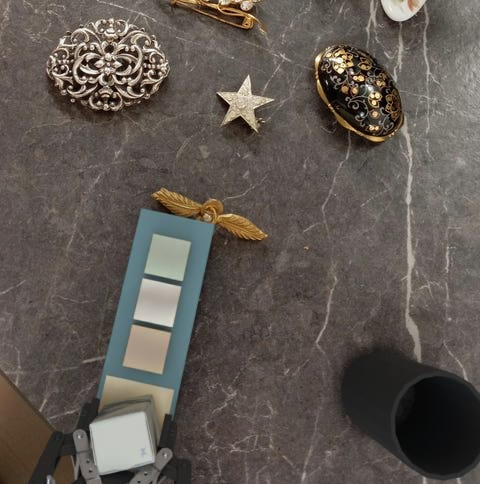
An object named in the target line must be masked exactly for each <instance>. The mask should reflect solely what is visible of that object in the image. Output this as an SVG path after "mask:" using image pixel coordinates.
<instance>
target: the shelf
mask: <svg viewBox="0 0 480 484" xmlns="http://www.w3.org/2000/svg"><path fill="white" fill-rule="evenodd" d="M215 225H216V224H215V223H212V222H207V221H202V220H198V219H194V218H189V217H184V216H180V215H175V214H169V213H165V212H161V211H157V210H152V209H148V208H144V207H141V208H140V212H139V215H138V220H137V224H136V229H135V232H134V237H133V241H132V246H131V250H130V255H129V258H128V262H127V265H126V266H127V267H126V270H125V275H124V278H123V283H122V287H121V291H120V295H119V300H118V303H117V309H116V313H115V317H114V321H113V326H112V329H111V333H110V338H109V343H108V346H107V351H106V355H105V359H104V362H103V363H104V364H103V367H102V372H101V377H100V379H99V384H98V388H97V393H96V397H95V398H98V399H100V401H101V397H102V392H103V388H104V384H105V380H106V375H109V376H114V377H118V378H123V379H127V380H132V381H137V382H141V383H146V384H150V385H155V386H160V387H164V388H169V389H173V390H174V394H173V398H172V403H171V408H170V412H169V414H171V415H172V420H171V421H174V417H175V413H176V408H177V403H178V398H179V393H180V389H181V384H182V379H183V375H184V370H185V367H186V366H185V365H186V362H187V356H188V351H189V347H190V342H191V337H192V334H193V333H192V332H193V328H194V325H195V319H196V315H197V309H198V306H199V305H198V304H199V299H200V296H201V295H200V294H201V291H202V286H203V282H204V277H205V272H206V269H207V264H208V259H209V254H210V249H211V244H212V239H213V235H214V230H215V227H216V226H215ZM153 233H154V234H159V235H164V236H168V237H173V238H177V239H182V240H186V241H191V247H190V252H189V257H188V261H187V266H186V270H185V275H184V279H183V282H181V281H177V280H172V279H167V278H163V277H158V276H154V275H149V274H145V273H144V270H145V265H146V261H147V257H148V253H149V248H150V244H151V240H152V235H153ZM143 278H145V279H149V280H154V281H158V282H163V283H168V284H172V285H177V286H181V287H182V288H181V293H180V297H179V302H178V306H177V311H176V316H175V320H174V325H173V327H168V326H163V325H159V324H154V323H150V322H145V321H140V320H136V319H133V317H134V313H135V309H136V304H137V300H138V296H139V291H140V287H141V283H142V279H143ZM133 323H138V324H142V325H147V326H151V327H156V328H161V329H165V330H170V331H172V334H171V338H170V343H169V347H168V352H167V356H166V361H165V365H164V370H163V374H162V375H161V374H157V373H152V372H148V371H143V370H138V369H134V368H129V367H125V366H122V365H123V360H124V356H125V352H126V347H127V343H128V339H129V334H130V330H131V326H132V324H133ZM90 443H91V439H90ZM90 443H89V445H90ZM91 450H92V451H93V449H91ZM143 466H144V465H143ZM143 466H139V467H135V468H132V469H134V470H139V471H140V470H141V469H142V467H143Z"/></svg>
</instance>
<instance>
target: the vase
mask: <svg viewBox="0 0 480 484" xmlns="http://www.w3.org/2000/svg"><path fill="white" fill-rule="evenodd" d="M341 381H342V382H341V385H340V393H341V394H340V395H341V396H340V398H341V402H342V406H343V408H344V411H345V414H346V415H347V416H348V418H349V419H350V420H351V421H352V422H353V424H354V425H355V426H356V427H357V428H358V429H360V430H361V431H362V432H364V433H365V434H367V435H368V436H369V437H370V438H371V439H372V440H374V441H375V442H377V443H378V444H379V445H380V446H382V448H384V449H385V450H387V451H388V452H389V453H390V454H391V455H393V456H394V457H395V458H397V459H398V460H399V461H400V462H402V463H403V464H404V465H405V466H406V467H408V468H409V469H411V470H413V471H414V472H416V473H417V474H419V475H421V476H422V477H424V478H426V479H432V480H436V481H440V482H441V481H442V482H444V481H449V480H454V479H459V478H463V476H465V475H466V474H468V473H470V472H471V471H473V470H474V469H476V468H477V466H479V463H480V392H479V391H478V390H477V389H476V387H475V386H474V385H473V383H472V382H469V381H468V380H466V379H465V378H463V377H462V376H460V375H458V374H456V373H454V372H451V371H448V370H444V369H441V368H438V367H435V366H432V365H430V364H429V365H428V364H425V363H422V362H419V361H415V360H413V359H409V358H406V357H403V356H400V355H396V354H394V353H389V352H384V351H379V350H378V351H372V352H367V353H364V354H362V355H361V356H360V357H357V358H356V359H354V360H353V361H352V363H351V364H350V365H349V366H348V368H346V370H345V371H344V375H343V378H342V380H341ZM412 386H414V402H413V406H412V409H411V411H410V413H409V414H408V416H407V417H406V418H405V419H404V421H403V422H401V424H399V425H397V426H396V415H397V411H398V408H399V405H400V402H401V399H402V398H403V397H404V395H405V394H406V393H407V392H408V390H409V389H410V387H412Z"/></svg>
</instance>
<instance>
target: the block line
mask: <svg viewBox="0 0 480 484" xmlns="http://www.w3.org/2000/svg"><path fill="white" fill-rule="evenodd" d="M190 247H191V241H186V240H182V239H177V238H173V237H168V236H164V235H159V234H154V233H153V235H152V240H151V244H150V248H149V253H148V257H147V261H146V265H145V270H144V273H145V274H149V275H154V276H158V277H163V278H167V279H172V280H177V281H181V282H183V279H184V275H185V270H186V266H187V261H188V257H189V252H190ZM181 288H182V287H181V286H177V285H172V284H168V283H163V282H158V281H154V280H149V279H145V278H143V279H142V283H141V287H140V291H139V296H138V300H137V304H136V309H135V313H134V317H133V319H136V320H140V321H145V322H150V323H154V324H159V325H163V326H168V327H173V325H174V320H175V316H176V311H177V306H178V302H179V297H180V293H181ZM171 334H172V331H170V330H165V329H161V328H156V327H151V326H147V325H142V324H138V323H133V324H132V326H131V330H130V334H129V339H128V343H127V347H126V352H125V356H124V360H123V365H122V366H125V367H129V368H134V369H138V370H143V371H148V372H152V373H157V374H161V375H162V374H163V370H164V365H165V361H166V356H167V352H168V347H169V343H170V338H171ZM150 394H151V395H153V399H154V403H155V408H156V412H157V417H158V423H159V428H160V434H161V430H162V425H163V421H164V417H165V413H166V414H169V412H170V408H171V403H172V398H173V394H174V390H173V389H169V388H164V387H160V386H155V385H150V384H146V383H141V382H137V381H132V380H127V379H123V378H118V377H114V376H109V375H106V380H105V384H104V388H103V392H102V397H101V401H100V405H99V411H98V413H99V412H100V410H101V409H102V408H103V406H104V405H106V404H110V403H114V402H118V401H122V400H126V399H130V398H135V397H140V396H145V395H150ZM90 449H92V442H91V443H90Z"/></svg>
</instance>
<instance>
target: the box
mask: <svg viewBox="0 0 480 484" xmlns="http://www.w3.org/2000/svg"><path fill="white" fill-rule="evenodd" d="M89 427H90V434H91V442H92V449H93V456H94V462H95V465H96V466H97V470H98V474H99V475H105V474H110V473H114V472H119V471H128V470H131V469H133V468H135V467H139V466H143V465H146V464H150V463H154V462H155V459H156V454H157V449H158V444H159V440H160V435H161V434H160V428H159V423H158V417H157V412H156V408H155V403H154V399H153V395H151V394H150V395H145V396H140V397H135V398H130V399H126V400H122V401H118V402H114V403H110V404H106V405H104V406H103V408H102V409H101V410H100V412H99V413H98V415H97V416H96V417H95V419H94V420H93V421H92V423H91V424H90V426H89Z"/></svg>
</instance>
